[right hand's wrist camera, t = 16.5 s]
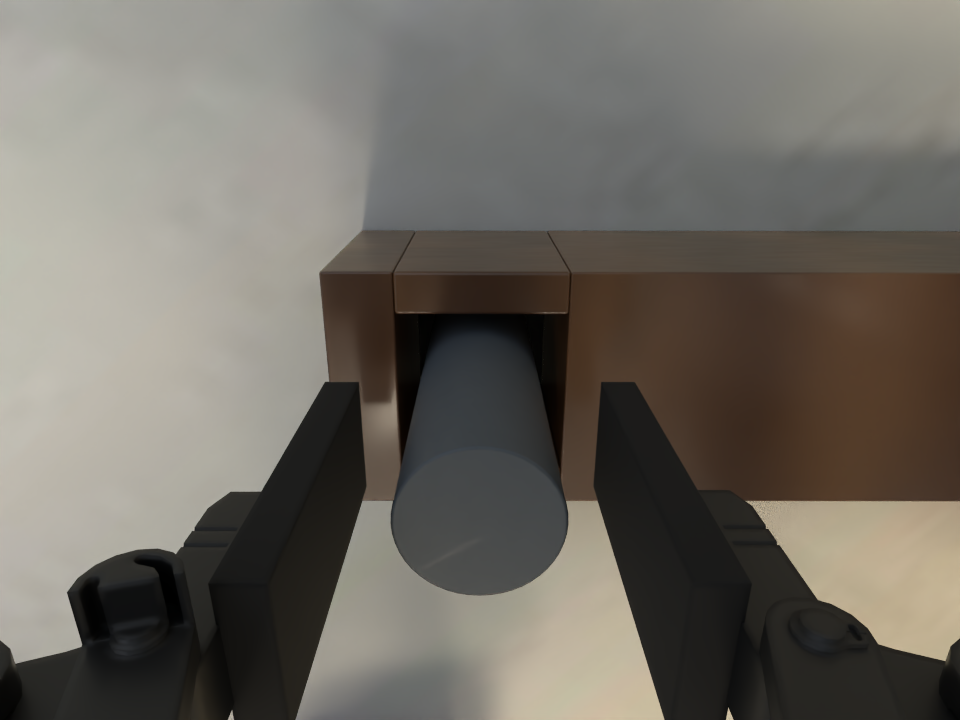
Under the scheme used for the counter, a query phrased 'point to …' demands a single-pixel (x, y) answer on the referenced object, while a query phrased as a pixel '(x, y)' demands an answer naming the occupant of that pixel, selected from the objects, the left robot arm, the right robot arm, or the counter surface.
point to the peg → (479, 462)
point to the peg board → (686, 348)
